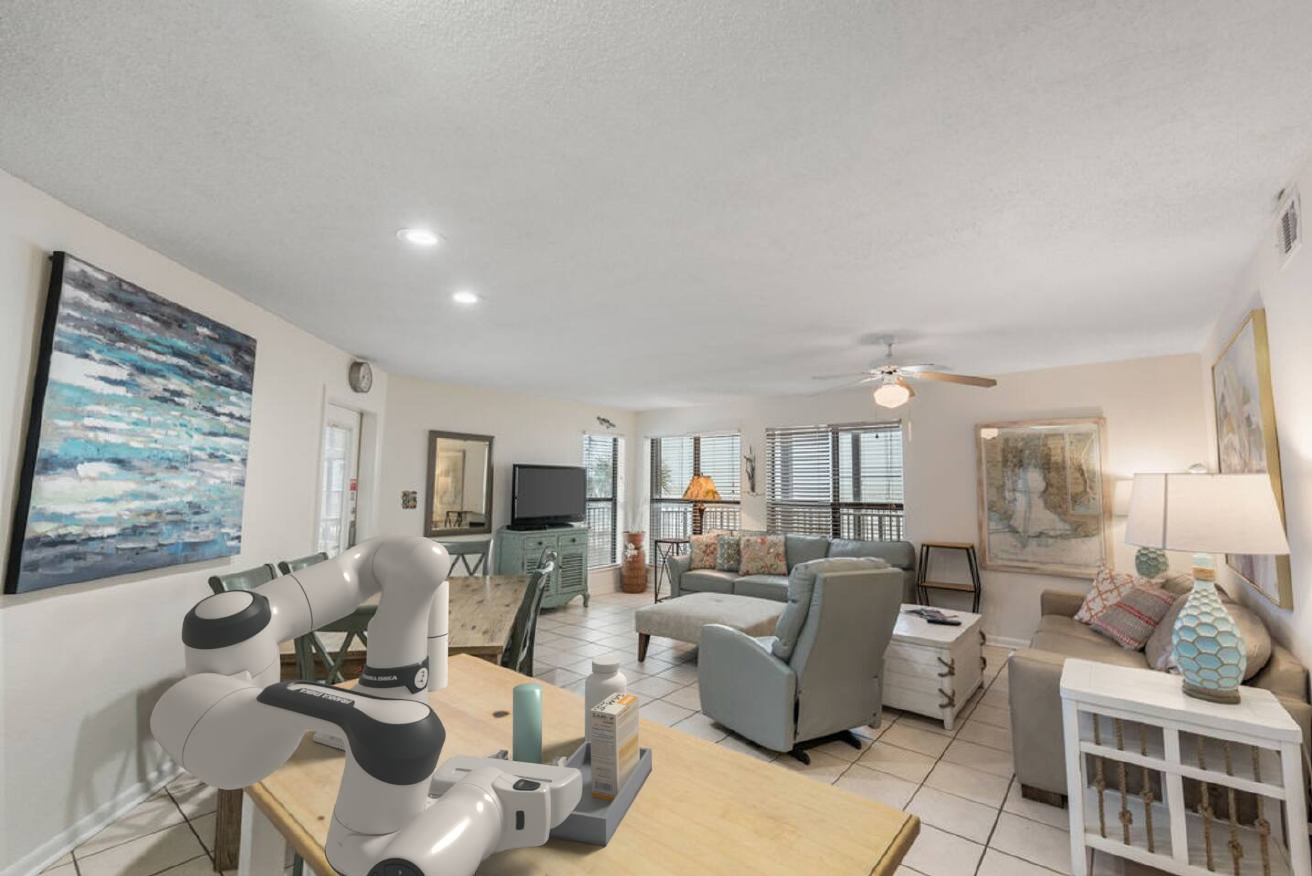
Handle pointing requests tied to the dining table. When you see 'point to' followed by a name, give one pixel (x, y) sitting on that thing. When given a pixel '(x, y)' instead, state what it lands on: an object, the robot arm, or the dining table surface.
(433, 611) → the cylindrical container
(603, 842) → the tote
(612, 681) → the pill bottle
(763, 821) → the dining table surface
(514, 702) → the candle
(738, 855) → the dining table surface
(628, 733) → the supplement box
